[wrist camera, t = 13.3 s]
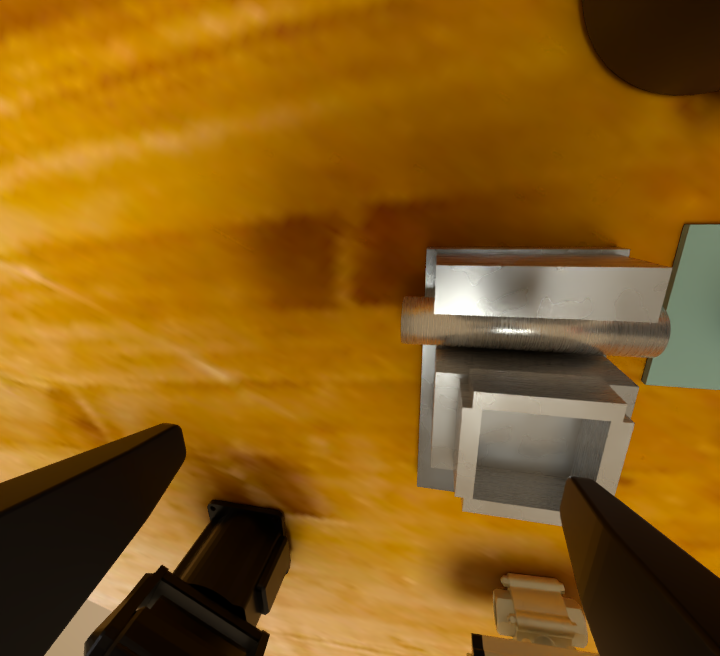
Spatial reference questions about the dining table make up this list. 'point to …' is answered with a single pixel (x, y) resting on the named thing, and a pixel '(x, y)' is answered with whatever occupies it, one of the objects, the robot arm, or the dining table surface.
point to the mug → (658, 42)
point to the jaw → (527, 426)
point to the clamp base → (531, 311)
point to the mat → (692, 314)
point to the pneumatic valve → (533, 620)
